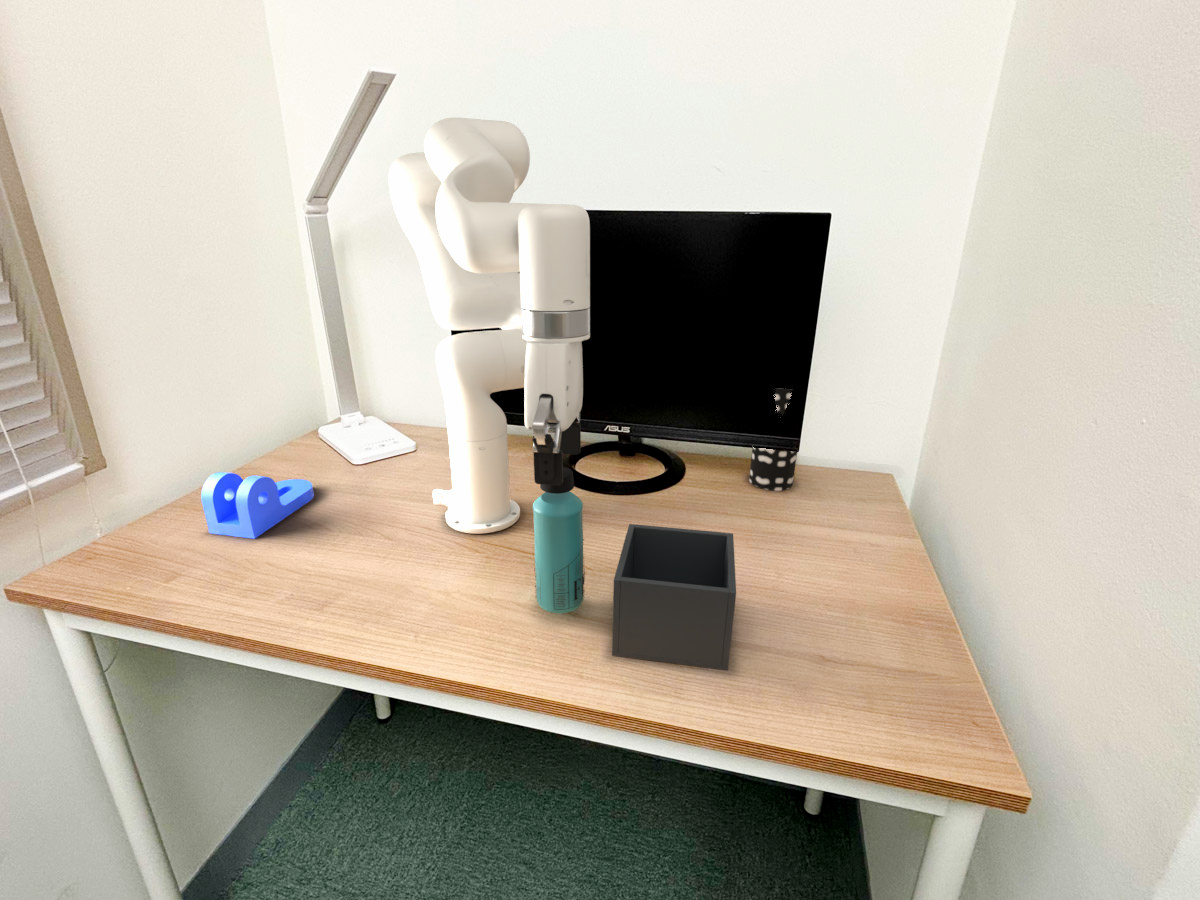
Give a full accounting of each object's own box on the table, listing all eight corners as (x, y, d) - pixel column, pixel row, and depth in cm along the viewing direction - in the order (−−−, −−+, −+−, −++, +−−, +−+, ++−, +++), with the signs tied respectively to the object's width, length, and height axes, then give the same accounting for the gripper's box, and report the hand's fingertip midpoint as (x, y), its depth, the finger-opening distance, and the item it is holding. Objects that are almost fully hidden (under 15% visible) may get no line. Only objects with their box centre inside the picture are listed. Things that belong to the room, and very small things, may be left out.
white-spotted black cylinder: (743, 473, 125) (753, 377, 117) (783, 472, 125) (796, 377, 118) (756, 491, 117) (768, 389, 110) (799, 490, 118) (813, 388, 110)
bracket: (254, 538, 98) (243, 487, 95) (209, 533, 100) (196, 482, 96) (323, 491, 115) (315, 446, 111) (283, 487, 116) (275, 442, 113)
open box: (611, 655, 73) (613, 579, 70) (627, 591, 86) (629, 523, 82) (728, 670, 71) (736, 593, 67) (726, 601, 84) (733, 533, 80)
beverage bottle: (578, 627, 78) (578, 484, 71) (528, 620, 79) (523, 479, 72) (589, 598, 84) (590, 463, 77) (542, 592, 85) (539, 458, 78)
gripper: (543, 312, 77) (546, 441, 83) (498, 337, 61) (506, 495, 67) (602, 314, 75) (602, 445, 81) (572, 339, 59) (574, 500, 66)
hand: (559, 467), depth 74 cm, fingers open, 9 cm apart
